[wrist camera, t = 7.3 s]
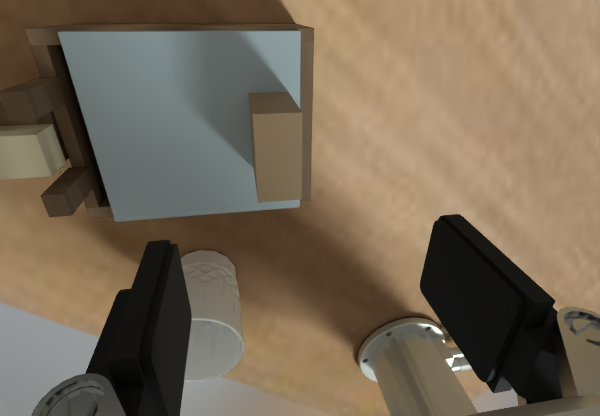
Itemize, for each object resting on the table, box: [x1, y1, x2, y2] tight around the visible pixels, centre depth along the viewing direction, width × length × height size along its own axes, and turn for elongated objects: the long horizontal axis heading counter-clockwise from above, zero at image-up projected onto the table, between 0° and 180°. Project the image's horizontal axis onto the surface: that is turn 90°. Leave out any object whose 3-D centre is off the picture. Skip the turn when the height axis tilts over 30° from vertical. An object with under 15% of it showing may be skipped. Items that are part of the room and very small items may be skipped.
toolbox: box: [0, 24, 314, 218], centre depth 24 cm, size 20×12×11 cm, turn 90°
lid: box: [58, 30, 302, 222], centre depth 21 cm, size 13×12×6 cm
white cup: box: [181, 250, 244, 382], centre depth 33 cm, size 8×8×10 cm
